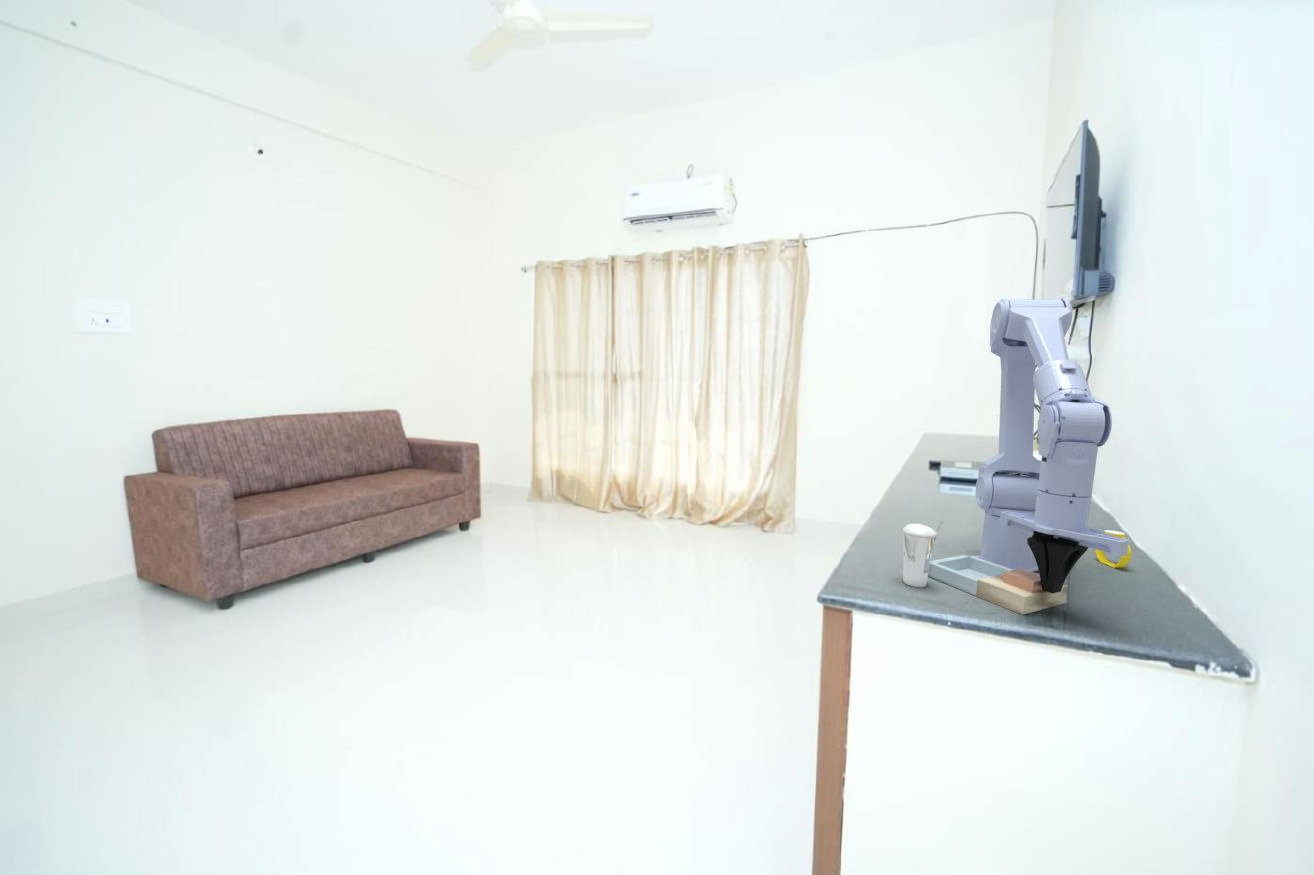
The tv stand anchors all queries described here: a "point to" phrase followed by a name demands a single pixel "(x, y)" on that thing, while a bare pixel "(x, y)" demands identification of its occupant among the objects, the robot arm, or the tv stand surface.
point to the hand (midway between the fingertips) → (1051, 590)
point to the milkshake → (917, 553)
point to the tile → (1023, 579)
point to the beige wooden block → (1017, 596)
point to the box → (964, 571)
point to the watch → (1124, 559)
